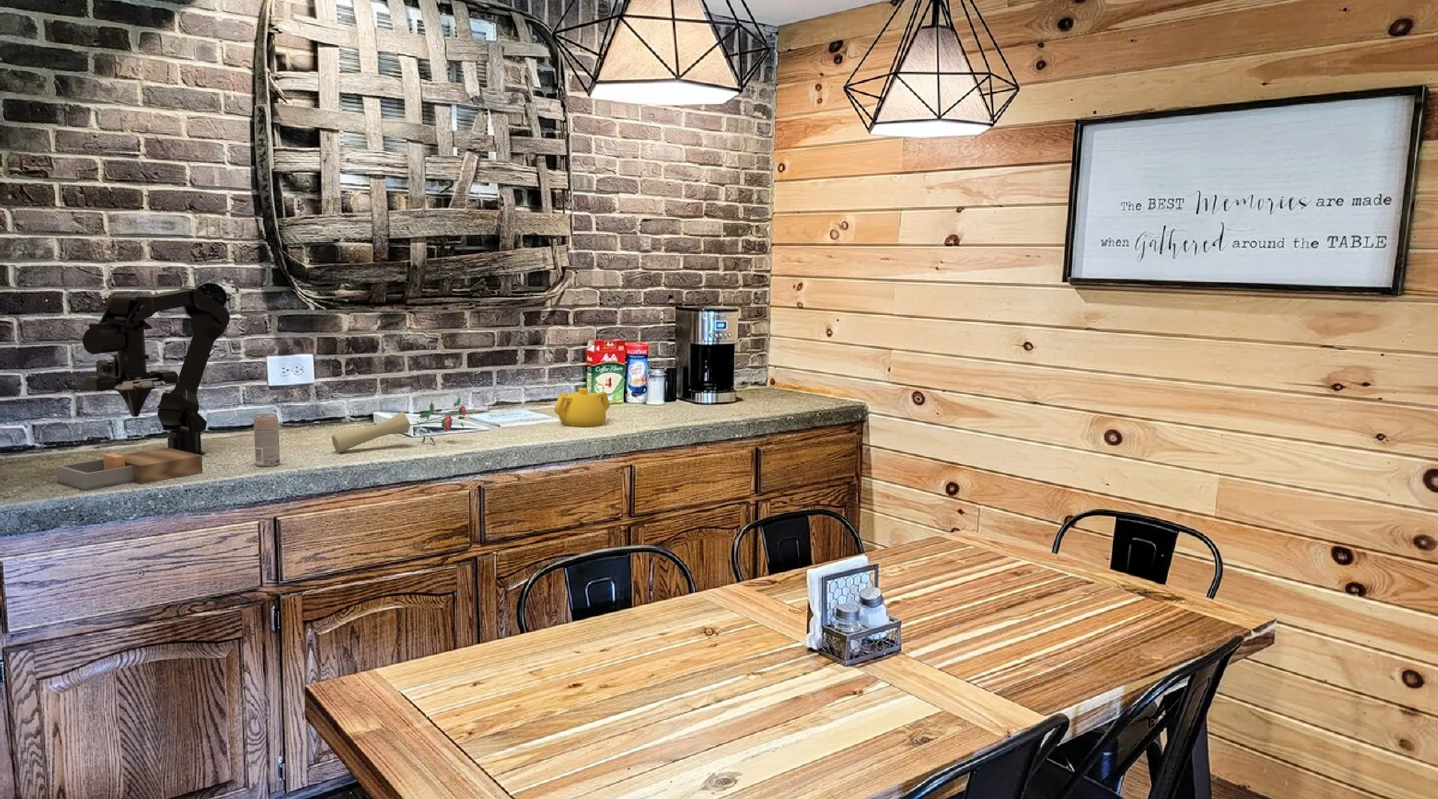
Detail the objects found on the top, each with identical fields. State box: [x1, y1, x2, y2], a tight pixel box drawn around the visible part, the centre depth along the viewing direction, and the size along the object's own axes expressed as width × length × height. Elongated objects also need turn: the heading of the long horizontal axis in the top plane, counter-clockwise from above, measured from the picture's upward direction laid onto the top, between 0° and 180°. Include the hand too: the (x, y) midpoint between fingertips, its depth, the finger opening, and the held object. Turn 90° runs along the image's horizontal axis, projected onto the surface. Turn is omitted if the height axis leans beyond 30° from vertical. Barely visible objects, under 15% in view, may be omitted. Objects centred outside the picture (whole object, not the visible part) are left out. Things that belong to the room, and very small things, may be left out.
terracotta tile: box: [102, 452, 125, 470], centre depth 223 cm, size 5×5×2 cm
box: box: [56, 458, 135, 491], centre depth 221 cm, size 10×12×4 cm
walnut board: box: [121, 446, 204, 484], centre depth 230 cm, size 14×14×4 cm
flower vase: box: [331, 396, 467, 454], centre depth 268 cm, size 12×12×35 cm
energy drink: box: [253, 413, 281, 467], centre depth 242 cm, size 5×5×12 cm
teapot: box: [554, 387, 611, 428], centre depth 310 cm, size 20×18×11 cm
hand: (135, 416), depth 234 cm, fingers closed
